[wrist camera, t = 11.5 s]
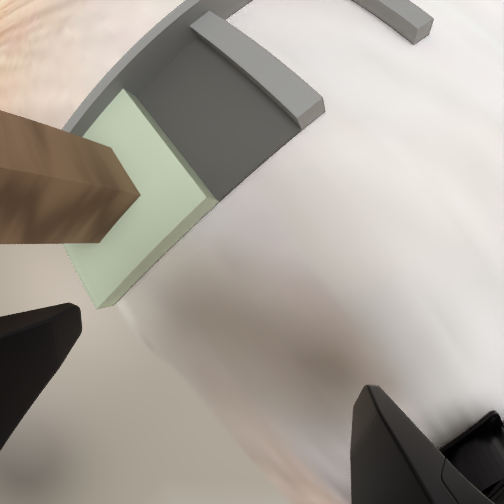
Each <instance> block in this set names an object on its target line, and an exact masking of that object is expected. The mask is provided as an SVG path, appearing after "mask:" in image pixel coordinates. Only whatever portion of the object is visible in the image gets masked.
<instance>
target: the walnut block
mask: <svg viewBox="0 0 504 504" xmlns="http://www.w3.org/2000/svg"><path fill="white" fill-rule="evenodd" d="M139 197H140V193H139V191H138V190H137V188H136V187H135V185H134V184H133V182H132V181H131V179H130V177H129V176H128V174H127V173H126V171H125V169H124V168H123V166H122V165H121V163H120V161H119V160H118V158H117V156H116V155H115V153H114V152H113V150H112V148H111V147H108V146H105V145H103V144H100V143H97V142H94V141H91V140H89V139H86V138H83V137H80V136H77V135H74V134H71V133H69V132H66V131H63V130H60V129H57V128H54V127H51V126H48V125H45V124H42V123H39V122H36V121H32V120H29V119H26V118H23V117H20V116H17V115H13V114H10V113H7V112H4V111H0V244H51V243H52V244H59V243H61V244H63V243H100V242H101V240H102V239H103V238H104V237H105V236H106V234H107V233H108V232H109V231H110V230H111V228H112V227H113V226H114V225H115V224H116V223H117V221H118V220H119V219H120V218H121V217H122V216H123V214H124V213H125V212H126V211H127V210H128V209H129V208H130V207H131V205H132V204H133V203H134V202H135V201H136V200H137V199H138V198H139Z"/></svg>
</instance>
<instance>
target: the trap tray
mask: <svg viewBox="0 0 504 504" xmlns="http://www.w3.org/2000/svg"><path fill="white" fill-rule="evenodd" d="M250 1H252V0H186V1H184V2H183V3H182V4H180V5H179V6H178V7H177V8H175V9H174V10H173V11H172V12H171V13H169V14H168V15H167V16H166V17H165V18H163V19H162V20H161V21H160V22H159V23H158V24H157V25H155V26H154V27H153V28H152V29H151V30H150V31H149V32H148V33H147V34H146V35H144V36H143V37H142V38H141V39H140V40H139V41H138V42H137V43H136V44H135V45H134V46H133V47H132V48H131V49H130V50H129V51H128V52H127V53H126V54H125V55H124V56H123V57H122V58H121V59H120V60H119V61H118V62H117V63H116V64H115V65H114V66H113V67H112V69H111V70H110V71H109V72H108V73H107V74H106V75H105V76H104V77H103V79H102V80H101V81H100V82H99V83H98V84H97V85H96V87H95V88H94V89H93V90H92V91H91V92H90V94H89V95H88V96H87V97H86V99H85V100H84V101H83V102H82V104H81V105H80V106H79V107H78V109H77V110H76V111H75V112H74V114H73V115H72V116H71V118H70V119H69V120H68V122H67V123H66V124H65V126H64V127H63V129H62V130H63V131H66V132H69V133H71V134H74V135H77V136H80V137H83V138H86V139H89V140H91V141H94V142H97V143H100V144H103V145H105V146H108V147H111V148H112V150H113V152H114V153H115V155H116V156H117V158H118V160H119V161H120V163H121V165H122V166H123V168H124V169H125V171H126V173H127V174H128V176H129V177H130V179H131V181H132V182H133V184H134V185H135V187H136V188H137V190H138V191H139V193H140V197H139V198H138V199H137V200H136V201H135V202H134V203H133V204H132V205H131V207H130V208H129V209H128V210H127V211H126V212H125V213H124V214H123V216H122V217H121V218H120V219H119V220H118V221H117V223H116V224H115V225H114V226H113V227H112V228H111V230H110V231H109V232H108V233H107V234H106V236H105V237H104V238H103V239H102V240H101V242H100V243H63V246H64V248H65V250H66V252H67V254H68V256H69V258H70V260H71V262H72V264H73V266H74V268H75V270H76V272H77V274H78V276H79V278H80V280H81V282H82V284H83V286H84V287H85V289H86V291H87V293H88V295H89V297H90V298H91V300H92V302H93V304H94V306H95V307H96V309H101V308H105V307H108V306H113V305H114V304H115V303H116V302H117V301H118V300H119V299H120V298H121V297H122V296H123V295H124V294H125V293H126V292H127V291H128V290H129V289H130V288H131V287H132V286H133V285H134V284H135V283H136V282H137V281H138V280H139V279H140V278H141V277H142V276H143V275H144V274H145V273H146V271H147V270H148V269H150V268H151V267H152V266H153V265H154V264H155V263H156V262H157V261H158V260H159V259H160V258H161V257H162V256H163V255H164V254H165V253H166V252H167V251H168V250H169V249H170V248H171V247H172V246H173V245H174V244H175V243H176V242H177V241H178V240H179V239H180V238H181V237H182V236H183V235H184V234H185V233H186V232H188V231H189V230H190V229H191V228H192V227H193V226H194V225H195V224H196V223H197V222H198V221H199V220H200V219H201V218H202V217H203V216H205V215H206V214H207V213H208V212H209V211H210V210H211V209H212V208H213V207H214V206H215V205H216V204H218V203H219V202H220V201H221V200H222V199H223V198H224V197H225V196H226V195H227V194H229V193H230V192H231V191H232V190H233V189H234V188H235V187H236V186H237V185H239V184H240V183H241V182H242V181H243V180H244V179H245V178H246V177H248V176H249V175H250V174H251V173H252V172H253V171H254V170H256V169H257V168H258V167H259V166H260V165H261V164H262V163H264V162H265V161H266V160H267V159H268V158H269V157H271V156H272V155H273V154H274V153H275V152H276V151H278V150H279V149H280V148H281V147H282V146H284V145H285V144H286V143H287V142H288V141H289V140H291V139H292V138H293V137H294V136H295V135H297V134H298V133H299V132H300V131H301V130H303V129H304V128H305V127H306V126H308V125H309V124H310V123H311V122H312V121H314V120H315V119H316V118H317V117H319V116H320V115H321V114H322V113H324V112H325V107H324V101H323V97H322V96H320V95H319V94H318V93H317V92H316V91H315V90H314V89H313V88H312V87H311V86H309V85H308V84H307V83H306V82H305V81H304V80H303V79H301V78H300V77H299V76H298V75H297V74H295V73H294V72H293V71H292V70H291V69H289V68H288V67H287V66H286V65H285V64H283V63H282V62H281V61H280V60H278V59H277V58H276V57H275V56H273V55H272V54H271V53H270V52H268V51H267V50H266V49H264V48H263V47H262V46H260V45H259V44H258V43H256V42H255V41H254V40H252V39H251V38H250V37H248V36H247V35H245V34H244V33H243V32H241V31H240V30H238V29H237V28H235V27H234V26H233V25H231V24H230V23H228V22H227V21H225V19H227V18H228V17H229V16H231V15H232V14H233V13H235V12H236V11H238V10H239V9H240V8H242V7H243V6H245V5H246V4H248V3H249V2H250ZM353 1H354V2H356V3H358V4H359V5H361V6H362V7H364V8H365V9H367V10H368V11H370V12H371V13H373V14H374V15H375V16H377V17H378V18H380V19H381V20H383V21H384V22H385V23H387V24H388V25H389V26H391V27H392V28H393V29H395V30H396V31H397V32H399V33H400V34H401V35H402V36H404V37H405V38H406V39H407V40H409V41H410V42H411V43H412V44H416V43H417V42H419V41H420V40H421V39H423V38H424V37H426V36H427V35H429V33H430V30H431V27H432V24H433V20H434V18H432V17H431V16H430V15H429V14H427V13H426V12H425V11H423V10H422V9H421V8H419V7H418V6H416V5H415V4H414V3H412V2H411V1H409V0H353Z"/></svg>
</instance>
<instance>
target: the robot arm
mask: <svg viewBox="0 0 504 504" xmlns="http://www.w3.org/2000/svg"><path fill="white" fill-rule="evenodd" d="M81 332H82V321H81V311H80V308H79V307H78V306H76V305H74V304H72V303H64V304H59V305H55V306H50V307H45V308H40V309H36V310H31V311H27V312H21V313H16V314H12V315H7V316H2V317H0V451H1V449H2V448H3V446H4V444H5V443H6V441H7V440H8V438H9V437H10V435H11V434H12V433H13V431H14V429H15V428H16V427H17V425H18V424H19V422H20V421H21V419H22V418H23V416H24V415H25V414H26V412H27V411H28V410H29V408H30V407H31V405H32V404H33V403H34V401H35V400H36V399H37V397H38V396H39V394H40V393H41V392H42V390H43V389H44V388H45V386H46V385H47V384H48V382H49V381H50V380H51V378H52V377H53V376H54V374H55V373H56V372H57V370H58V369H59V368H60V366H61V364H62V363H63V362H64V360H65V358H66V357H67V355H68V353H69V352H70V350H71V348H72V347H73V346H74V344H75V342H76V341H77V339H78V338H79V336H80V334H81ZM493 417H494V418H493ZM492 418H493V419H492ZM491 419H492V420H491ZM350 460H351V501H352V504H504V425H503V423H502V420H501V418H500V416H499V414H498V413H497V412H496V411H494V412H491V413H490V414H489V415H487V416H486V417H485V418H484V419H482V420H481V421H480V422H479V423H477V424H476V425H475V426H473V427H472V428H471V429H469V430H468V431H467V432H465V433H464V434H463V435H461V436H460V437H458V438H457V439H456V440H454V441H453V442H451V443H450V444H448V445H447V446H445V447H444V448H442V449H441V450H438V449H437V448H436V447H435V446H434V445H433V444H432V443H431V442H430V440H429V439H428V438H427V437H426V436H425V435H424V434H423V433H422V432H421V431H420V430H419V429H418V428H417V426H416V425H415V424H414V423H413V422H412V421H411V420H410V419H409V418H408V417H407V416H406V415H405V414H404V412H403V411H402V410H401V409H400V408H399V407H398V406H397V405H396V404H395V403H394V402H393V401H392V400H391V398H390V397H389V396H388V395H387V394H386V393H385V392H384V391H383V390H382V389H381V388H380V387H379V386H376V385H365V386H364V388H363V390H362V391H361V393H360V395H359V397H358V399H357V400H356V402H355V404H354V407H353V419H352V435H351V450H350Z"/></svg>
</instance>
